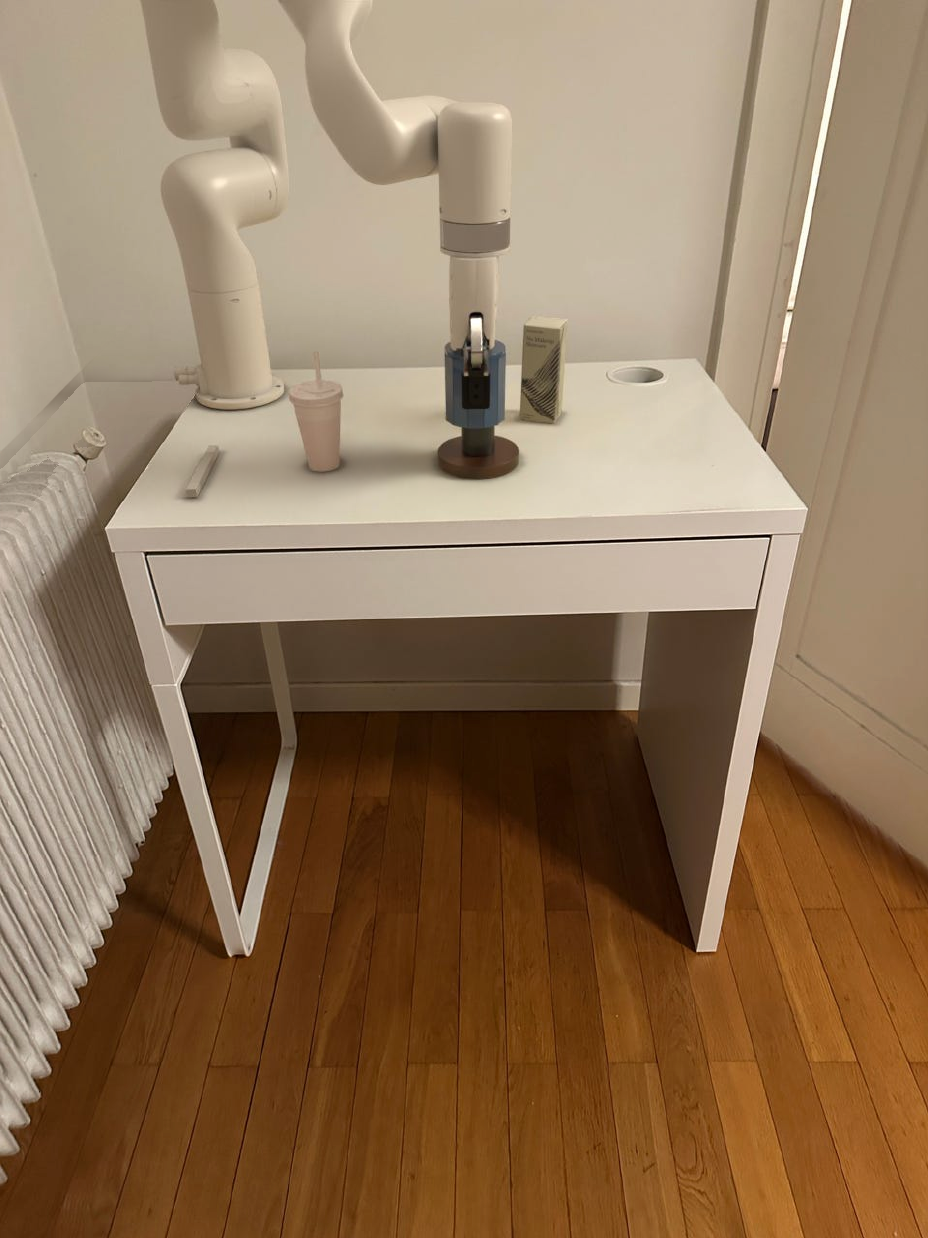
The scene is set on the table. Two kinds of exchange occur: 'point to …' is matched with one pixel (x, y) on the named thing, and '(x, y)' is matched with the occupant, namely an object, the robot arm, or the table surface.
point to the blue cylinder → (454, 388)
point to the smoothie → (319, 419)
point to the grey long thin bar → (202, 471)
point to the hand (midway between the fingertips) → (475, 394)
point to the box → (543, 368)
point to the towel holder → (478, 454)
